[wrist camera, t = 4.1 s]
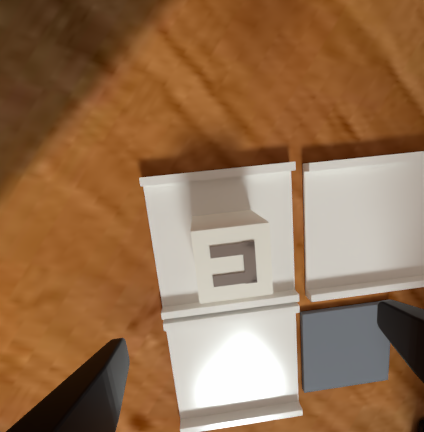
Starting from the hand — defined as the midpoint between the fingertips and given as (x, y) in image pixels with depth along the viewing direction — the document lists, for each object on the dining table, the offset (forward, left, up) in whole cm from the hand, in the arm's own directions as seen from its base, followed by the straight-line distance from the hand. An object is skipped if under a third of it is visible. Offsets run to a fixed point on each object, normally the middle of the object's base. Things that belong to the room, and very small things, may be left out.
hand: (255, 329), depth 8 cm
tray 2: (0, +11, -10) cm, 15 cm away
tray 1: (0, 0, -10) cm, 10 cm away
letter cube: (0, 0, -10) cm, 10 cm away
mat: (-10, +11, -10) cm, 18 cm away
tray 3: (-12, 0, -10) cm, 16 cm away
